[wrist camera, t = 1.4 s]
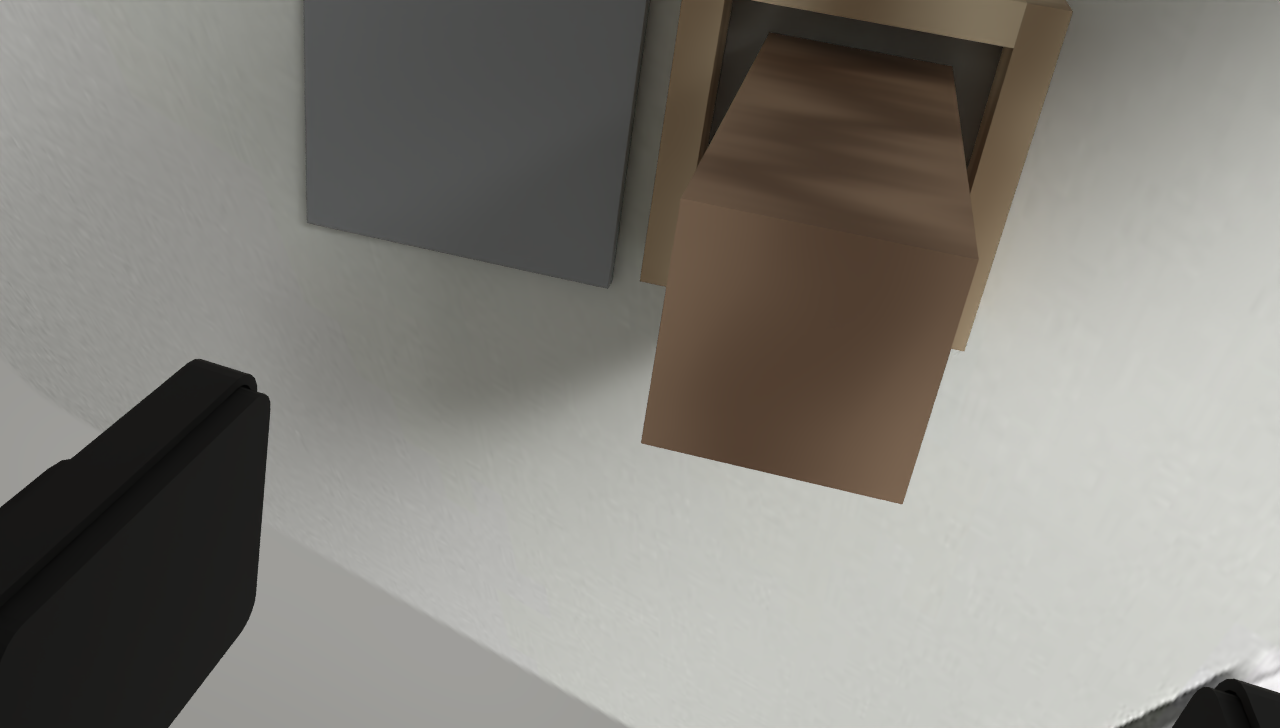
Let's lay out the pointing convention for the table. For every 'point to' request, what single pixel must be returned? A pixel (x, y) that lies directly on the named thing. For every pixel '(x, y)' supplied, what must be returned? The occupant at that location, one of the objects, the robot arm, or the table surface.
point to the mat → (475, 126)
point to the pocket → (934, 3)
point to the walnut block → (818, 271)
